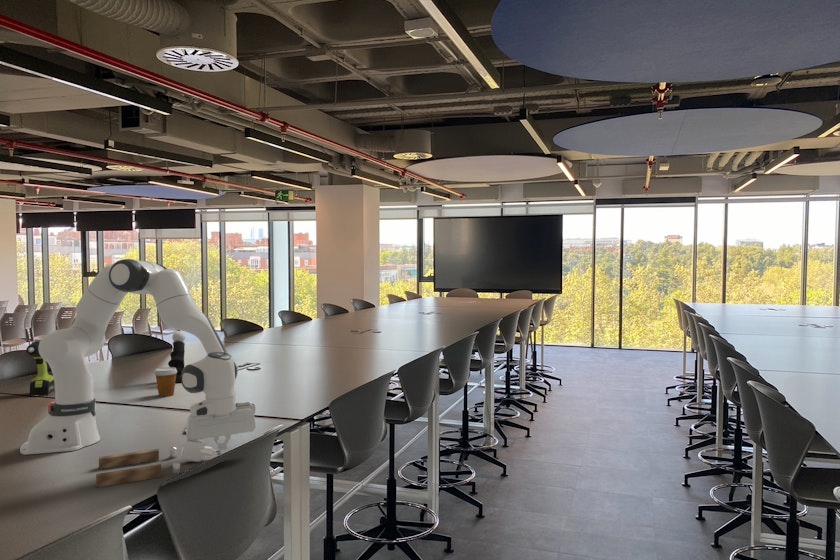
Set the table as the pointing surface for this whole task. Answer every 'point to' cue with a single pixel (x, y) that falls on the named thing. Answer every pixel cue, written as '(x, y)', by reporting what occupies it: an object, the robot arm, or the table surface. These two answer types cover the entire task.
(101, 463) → the walnut slot
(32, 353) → the cordless drill
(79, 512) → the table surface
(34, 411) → the table surface
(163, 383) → the disposable coffee cup
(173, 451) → the steel pins
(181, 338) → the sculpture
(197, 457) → the power adapter
